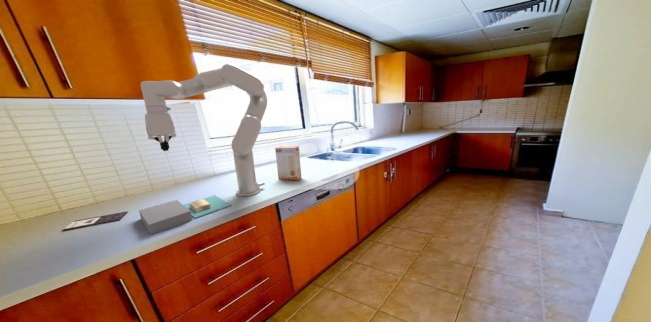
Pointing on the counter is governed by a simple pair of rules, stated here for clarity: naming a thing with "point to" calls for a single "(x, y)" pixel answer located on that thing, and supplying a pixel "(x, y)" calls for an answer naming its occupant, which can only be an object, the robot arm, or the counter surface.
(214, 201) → the mat
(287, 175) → the cracker box
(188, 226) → the counter surface
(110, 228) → the counter surface
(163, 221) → the block
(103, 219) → the chocolate bar
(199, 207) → the tan rectangular block
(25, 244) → the counter surface
